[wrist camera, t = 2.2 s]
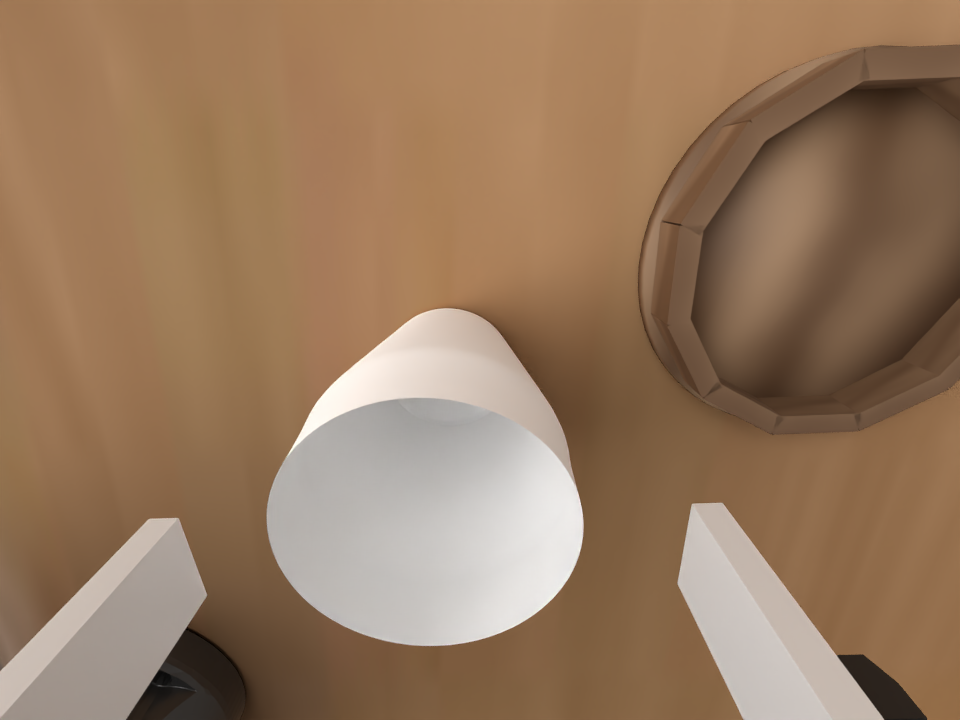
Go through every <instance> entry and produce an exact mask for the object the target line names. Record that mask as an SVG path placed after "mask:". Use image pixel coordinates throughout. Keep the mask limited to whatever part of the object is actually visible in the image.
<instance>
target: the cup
mask: <svg viewBox="0 0 960 720" xmlns="http://www.w3.org/2000/svg"><path fill="white" fill-rule="evenodd" d="M267 531H268V536H269V541H270V545H271V548H272V551H273V554H274V556H275V558H276V561H277V563H278V565H279V567H280V569H281V570H282V572H283V574H284V575H285V577H286V578H287V580H288V581H289V582H290V584H291V585H292V586H293V587H294V589H295V590H296V591H297V592H298V593H299V594H300V595H301V596H302V597H303V598H304V599H305V600H306V601H307V602H308V603H309V604H310V605H312V606H313V607H314V608H316V609H317V610H318V611H319V612H321V613H322V614H324V615H325V616H327V617H328V618H330V619H332V620H333V621H335V622H337V623H339V624H341V625H342V626H344V627H347V628H349V629H351V630H353V631H356V632H358V633H361V634H364V635H367V636H369V637H373V638H376V639H380V640H384V641H389V642H393V643H400V644H407V645H418V646H442V645H454V644H461V643H467V642H472V641H476V640H480V639H484V638H487V637H490V636H493V635H496V634H499V633H501V632H504V631H506V630H508V629H510V628H513V627H515V626H516V625H518V624H520V623H522V622H524V621H525V620H527V619H528V618H530V617H531V616H533V615H534V614H536V613H537V612H538V611H539V610H541V609H542V608H543V607H544V606H546V605H547V604H548V603H549V602H550V601H551V600H552V599H553V598H554V597H555V596H556V594H557V593H558V592H559V591H560V590H561V588H562V587H563V586H564V584H565V583H566V581H567V580H568V578H569V576H570V575H571V573H572V571H573V569H574V567H575V564H576V562H577V559H578V557H579V553H580V549H581V546H582V539H583V513H582V507H581V502H580V498H579V494H578V490H577V487H576V483H575V479H574V475H573V472H572V467H571V462H570V456H569V450H568V446H567V442H566V438H565V435H564V432H563V429H562V427H561V425H560V423H559V421H558V419H557V417H556V415H555V413H554V411H553V409H552V407H551V406H550V404H549V403H548V401H547V400H546V398H545V397H544V395H543V394H542V392H541V391H540V389H539V388H538V387H537V385H536V384H535V382H534V381H533V379H532V378H531V377H530V375H529V374H528V372H527V371H526V369H525V368H524V367H523V365H522V364H521V362H520V361H519V359H518V358H517V357H516V355H515V354H514V352H513V351H512V349H511V348H510V347H509V345H508V344H507V342H506V341H505V340H504V338H503V337H502V335H501V334H500V333H499V331H498V330H497V329H496V328H495V327H494V326H493V325H492V324H490V323H489V322H488V321H486V320H485V319H483V318H482V317H480V316H478V315H476V314H473V313H471V312H468V311H464V310H460V309H451V308H444V309H435V310H431V311H427V312H424V313H422V314H419V315H417V316H415V317H414V318H412V319H410V320H409V321H408V322H406V323H405V324H404V325H403V326H401V327H400V328H399V329H398V330H397V331H395V332H394V333H393V334H392V335H390V336H389V337H388V338H387V339H386V340H384V341H383V342H382V343H381V344H379V345H378V346H377V347H376V348H375V349H373V350H372V351H371V352H370V353H368V354H367V355H366V356H365V357H364V358H362V359H361V360H360V361H359V362H357V363H356V364H355V365H354V366H353V367H351V368H350V369H349V370H348V371H347V372H345V373H344V374H343V375H342V376H341V377H339V378H338V379H337V380H336V381H335V382H334V383H333V384H332V385H331V386H330V387H329V388H328V390H327V391H326V392H325V393H324V394H323V395H322V397H321V398H320V399H319V400H318V401H317V403H316V404H315V406H314V408H313V409H312V411H311V412H310V414H309V416H308V418H307V420H306V423H305V425H304V427H303V429H302V431H301V433H300V434H299V436H298V438H297V440H296V442H295V443H294V445H293V447H292V449H291V450H290V452H289V454H288V455H287V457H286V459H285V460H284V462H283V464H282V466H281V467H280V469H279V471H278V473H277V475H276V477H275V479H274V482H273V485H272V488H271V491H270V494H269V500H268V505H267Z"/></svg>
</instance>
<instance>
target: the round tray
mask: <svg viewBox="0 0 960 720" xmlns="http://www.w3.org/2000/svg"><path fill="white" fill-rule="evenodd" d="M638 294H639V304H640V311H641V315H642V319H643V323H644V327H645V331H646V333H647V335H648V338H649V340H650V343H651V345H652V347H653V349H654V351H655V352H656V354H657V356H658V357H659V359H660V361H661V362H662V364H663V365H664V366H665V367H666V368H667V370H668V371H669V372H670V373H671V374H672V375H673V377H674V378H675V379H676V380H677V381H678V382H679V383H680V384H682V385H683V386H684V387H685V388H686V389H687V390H689V391H690V392H691V393H692V394H693V395H694V396H696V397H697V398H699V399H701V400H702V401H704V402H705V403H707V404H709V405H710V406H712V407H715V408H717V409H719V410H722V411H724V412H726V413H729V414H733V415H735V416H737V417H739V418H741V419H743V420H745V421H746V422H748V423H750V424H752V425H754V426H756V427H758V428H760V429H762V430H764V431H765V432H767V433H769V434H772V435H774V434H800V433H826V432H853V431H858V430H859V431H860V430H862V429H864V428H867V427H869V426H871V425H873V424H875V423H877V422H880V421H882V420H884V419H886V418H888V417H890V416H892V415H895V414H897V413H899V412H901V411H903V410H905V409H908V408H910V407H912V406H914V405H916V404H918V403H921V402H923V401H925V400H927V399H929V398H931V397H934V396H936V395H938V394H940V393H942V392H944V391H946V390H948V388H951V387H952V386H953V385H954V384H955V383H956V382H957V381H958V380H959V379H960V45H941V46H916V47H907V46H873V47H864V48H855V49H850V50H846V51H842V52H838V53H835V54H831V55H827V56H823V57H821V58H818V59H815V60H812V61H809V62H807V63H805V64H802V65H800V66H797V67H795V68H792V69H790V70H787V71H785V72H782V73H781V74H779V75H777V76H775V77H773V78H772V79H770V80H768V81H766V82H764V83H763V84H761V85H759V86H757V87H756V88H754V89H753V90H751V91H750V92H749V93H747V94H746V95H744V96H743V97H742V98H740V99H739V100H737V101H736V102H735V103H733V104H732V105H731V106H730V107H729V108H727V109H726V110H725V111H724V112H723V113H722V114H721V115H720V116H719V117H717V118H716V119H715V120H714V121H713V122H712V123H711V124H710V125H709V126H708V127H707V128H706V129H705V130H704V131H703V133H702V134H701V135H700V136H699V137H698V138H697V139H696V140H695V142H694V143H693V144H692V145H691V146H690V147H689V149H688V150H687V151H686V153H685V154H684V156H683V157H682V158H681V160H680V161H679V163H678V164H677V165H676V167H675V168H674V170H673V171H672V173H671V175H670V177H669V178H668V180H667V182H666V184H665V186H664V187H663V189H662V191H661V193H660V195H659V197H658V199H657V202H656V204H655V207H654V209H653V211H652V214H651V216H650V218H649V222H648V225H647V229H646V232H645V236H644V239H643V243H642V249H641V255H640V261H639V271H638Z"/></svg>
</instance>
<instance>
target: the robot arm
mask: <svg viewBox="0 0 960 720" xmlns="http://www.w3.org/2000/svg"><path fill="white" fill-rule="evenodd" d="M677 584H678V586H679V588H680V590H681V592H682V594H683V596H684V598H685V600H686V602H687V604H688V606H689V608H690V610H691V613H692V615H693V617H694V619H695V621H696V623H697V625H698V627H699V629H700V631H701V633H702V635H703V637H704V639H705V641H706V643H707V645H708V647H709V650H710V652H711V654H712V656H713V658H714V660H715V662H716V664H717V666H718V668H719V670H720V672H721V674H722V676H723V678H724V680H725V682H726V684H727V687H728V689H729V691H730V693H731V695H732V697H733V699H734V701H735V703H736V705H737V707H738V709H739V711H740V713H741V715H742V717H743V719H744V720H927V717H926V716H925V715H924V714H923V713H922V711H921V710H920V709H919V708H918V707H917V705H916V704H915V703H914V702H913V701H912V699H911V698H910V697H909V696H908V694H907V693H906V692H905V691H904V690H903V688H902V687H901V686H900V685H899V684H898V683H897V682H896V681H895V680H894V679H892V678H891V677H890V676H889V675H887V674H886V673H885V672H884V671H883V670H881V669H880V668H879V667H878V666H876V665H875V664H874V663H873V662H872V661H870V660H869V659H868V658H867V657H865V656H864V655H836V654H835V653H834V652H833V650H832V649H831V648H830V646H829V645H828V644H827V642H826V641H825V640H824V638H823V637H822V636H821V634H820V633H819V631H818V630H817V629H816V627H815V626H814V625H813V623H812V622H811V621H810V619H809V618H808V617H807V615H806V614H805V613H804V611H803V610H802V609H801V607H800V606H799V605H798V603H797V602H796V601H795V599H794V598H793V597H792V595H791V594H790V593H789V591H788V590H787V589H786V587H785V586H784V585H783V583H782V582H781V581H780V579H779V578H778V577H777V575H776V574H775V573H774V571H773V570H772V569H771V567H770V566H769V565H768V563H767V562H766V561H765V559H764V558H763V556H762V555H761V554H760V552H759V551H758V550H757V548H756V547H755V546H754V544H753V543H752V542H751V540H750V539H749V538H748V536H747V535H746V534H745V532H744V531H743V530H742V528H741V527H740V526H739V524H738V523H737V522H736V520H735V519H734V518H733V516H732V515H731V514H730V512H729V511H728V510H727V508H726V507H725V506H724V504H723V503H697V504H692V506H691V511H690V517H689V523H688V528H687V534H686V539H685V545H684V550H683V556H682V561H681V567H680V572H679V578H678V583H677ZM206 597H207V593H206V591H205V588H204V585H203V583H202V580H201V577H200V575H199V572H198V569H197V566H196V564H195V561H194V558H193V556H192V553H191V550H190V548H189V545H188V542H187V539H186V537H185V534H184V531H183V529H182V526H181V523H180V521H179V518H160V519H148V520H147V521H146V523H145V524H144V525H143V526H142V527H141V528H140V529H139V530H138V531H137V532H136V533H135V534H134V535H133V536H132V537H131V538H130V539H129V540H128V541H127V542H126V543H125V544H124V545H123V546H122V547H121V548H120V549H119V550H118V551H117V552H116V553H115V554H114V555H113V556H112V557H111V558H110V559H109V560H108V561H107V563H106V564H105V565H104V566H103V567H102V568H101V569H100V570H99V571H98V572H97V573H96V574H95V575H94V576H93V577H92V578H91V579H90V580H89V581H88V582H87V583H86V584H85V585H84V586H83V587H82V588H81V589H80V590H79V591H78V592H77V593H76V594H75V595H74V596H73V597H72V598H71V599H70V600H69V601H68V603H67V604H66V605H65V606H64V607H63V608H62V609H61V610H60V611H59V612H58V613H57V614H56V615H55V616H54V617H53V618H52V619H51V620H50V621H49V622H48V623H47V624H46V625H45V626H44V627H43V628H42V629H41V630H40V631H39V632H38V633H37V634H36V635H35V636H34V637H33V638H32V639H31V640H30V641H29V642H28V644H27V645H26V646H25V647H24V648H23V649H22V650H21V651H20V652H19V653H18V654H17V655H16V656H15V657H14V658H13V659H12V660H11V661H10V662H9V663H8V664H7V665H6V666H5V667H4V668H3V669H2V670H1V671H0V720H240V718H241V716H242V713H243V711H244V707H245V700H246V696H245V689H244V685H243V682H242V680H241V678H240V676H239V674H238V672H237V671H236V669H235V667H234V666H233V665H232V664H231V662H230V661H229V660H228V659H227V658H226V657H225V656H224V655H223V654H222V653H221V652H220V651H219V650H217V649H216V648H215V647H214V646H212V645H211V644H210V643H208V642H207V641H205V640H204V639H202V638H200V637H199V636H197V635H195V634H193V633H191V632H189V631H187V630H185V629H186V627H187V626H188V624H189V623H190V621H191V620H192V618H193V617H194V615H195V614H196V612H197V611H198V609H199V608H200V606H201V604H202V603H203V601H204V600H205V598H206Z"/></svg>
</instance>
